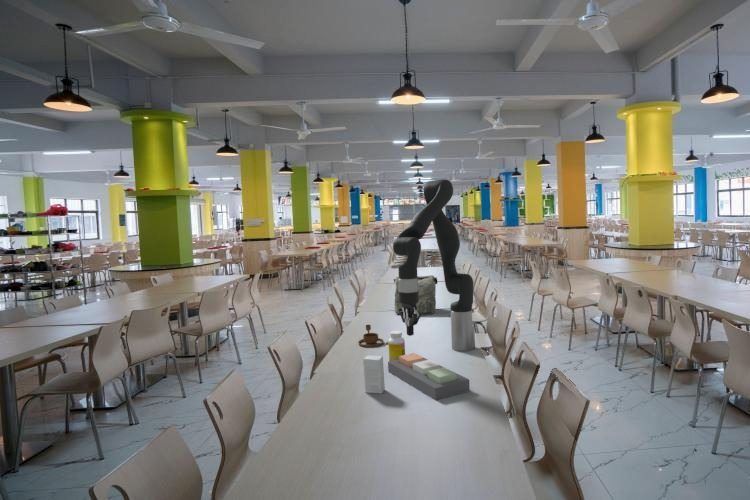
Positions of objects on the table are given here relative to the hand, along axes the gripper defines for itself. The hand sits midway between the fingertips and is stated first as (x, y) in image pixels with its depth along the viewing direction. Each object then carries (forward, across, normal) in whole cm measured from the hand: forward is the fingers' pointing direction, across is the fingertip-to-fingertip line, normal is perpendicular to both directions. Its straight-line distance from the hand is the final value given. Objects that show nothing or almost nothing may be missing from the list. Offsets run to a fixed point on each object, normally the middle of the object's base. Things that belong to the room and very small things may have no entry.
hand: (410, 335), depth 178 cm
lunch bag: (+14, +88, -57) cm, 105 cm away
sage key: (+12, -20, 0) cm, 23 cm away
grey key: (+12, -10, 0) cm, 15 cm away
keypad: (+15, -10, 0) cm, 18 cm away
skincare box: (+15, -8, +20) cm, 26 cm away
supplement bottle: (+15, +13, -1) cm, 20 cm away
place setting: (+15, +47, -8) cm, 50 cm away
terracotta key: (+12, 0, 0) cm, 12 cm away
